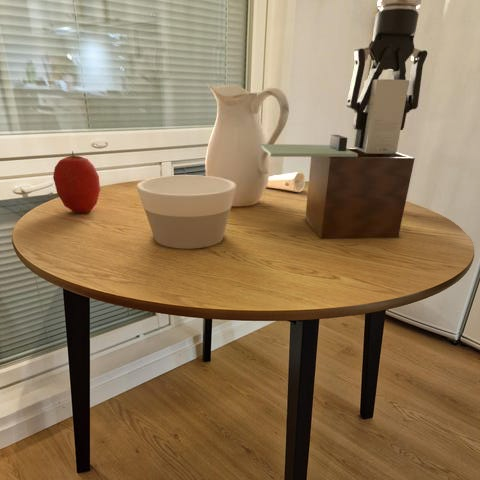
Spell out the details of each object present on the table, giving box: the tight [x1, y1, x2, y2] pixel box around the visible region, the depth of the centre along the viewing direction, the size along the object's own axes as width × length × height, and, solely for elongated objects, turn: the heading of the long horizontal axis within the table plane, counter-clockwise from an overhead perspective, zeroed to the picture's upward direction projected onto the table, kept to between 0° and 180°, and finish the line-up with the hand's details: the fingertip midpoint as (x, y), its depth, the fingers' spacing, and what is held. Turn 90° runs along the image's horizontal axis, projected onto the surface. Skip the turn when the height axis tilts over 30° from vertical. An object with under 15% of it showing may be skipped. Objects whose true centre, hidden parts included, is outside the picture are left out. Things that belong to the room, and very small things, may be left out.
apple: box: [52, 150, 101, 214], centre depth 100 cm, size 10×10×14 cm
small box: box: [354, 78, 410, 154], centre depth 85 cm, size 8×6×13 cm
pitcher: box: [204, 83, 290, 207], centre depth 106 cm, size 24×17×28 cm
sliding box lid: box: [261, 134, 358, 158], centre depth 86 cm, size 17×13×3 cm
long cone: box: [266, 171, 306, 193], centre depth 131 cm, size 6×6×19 cm
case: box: [304, 147, 416, 239], centre depth 92 cm, size 17×14×16 cm
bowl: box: [136, 174, 236, 250], centre depth 85 cm, size 19×19×11 cm
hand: (375, 147), depth 88 cm, fingers closed on small box, 6 cm apart
